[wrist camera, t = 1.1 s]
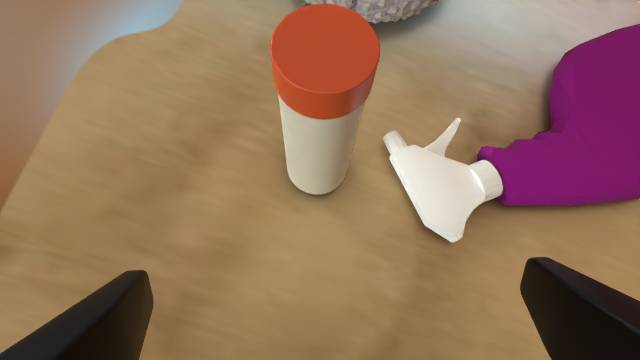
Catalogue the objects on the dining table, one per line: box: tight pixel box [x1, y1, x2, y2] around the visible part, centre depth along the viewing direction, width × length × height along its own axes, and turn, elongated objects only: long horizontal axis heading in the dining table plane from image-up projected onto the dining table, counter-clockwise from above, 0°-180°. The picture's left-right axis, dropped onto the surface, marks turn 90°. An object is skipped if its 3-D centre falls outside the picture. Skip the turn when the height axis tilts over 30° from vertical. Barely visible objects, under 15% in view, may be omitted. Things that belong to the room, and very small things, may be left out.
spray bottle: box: [383, 24, 640, 243], centre depth 25 cm, size 3×11×24 cm
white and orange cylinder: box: [270, 4, 380, 195], centre depth 19 cm, size 4×4×12 cm
